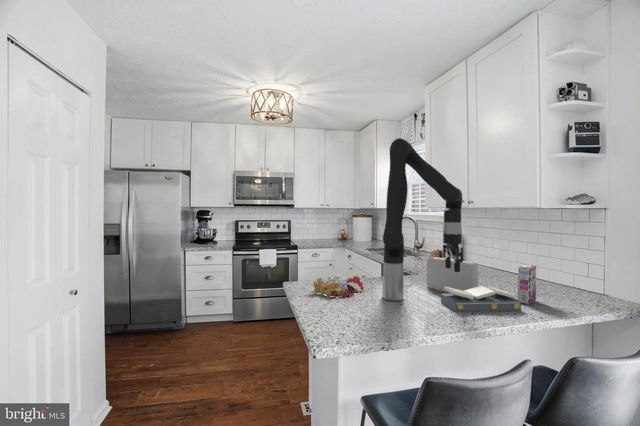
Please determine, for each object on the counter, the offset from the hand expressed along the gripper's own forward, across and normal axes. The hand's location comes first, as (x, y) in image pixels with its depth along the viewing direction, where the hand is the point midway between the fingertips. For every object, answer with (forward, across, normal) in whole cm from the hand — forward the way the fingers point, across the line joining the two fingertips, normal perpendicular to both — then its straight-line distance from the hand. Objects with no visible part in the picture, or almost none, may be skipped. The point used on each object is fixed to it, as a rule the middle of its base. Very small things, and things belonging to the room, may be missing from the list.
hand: (452, 270), depth 139 cm
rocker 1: (+10, 0, +3) cm, 10 cm away
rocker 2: (+10, 0, +12) cm, 15 cm away
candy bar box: (+16, -6, +38) cm, 42 cm away
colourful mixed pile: (+17, -28, -48) cm, 58 cm away
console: (+16, 0, +12) cm, 20 cm away
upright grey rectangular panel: (+16, -26, +12) cm, 33 cm away
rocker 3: (+10, 0, +22) cm, 24 cm away
